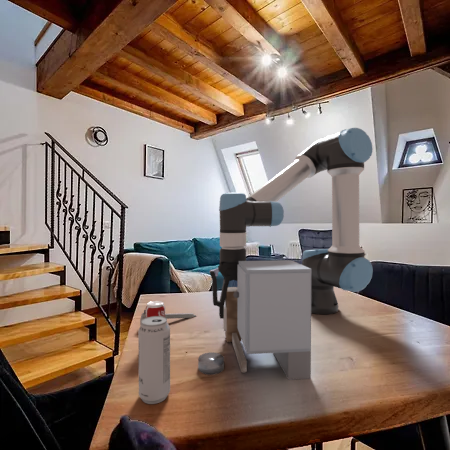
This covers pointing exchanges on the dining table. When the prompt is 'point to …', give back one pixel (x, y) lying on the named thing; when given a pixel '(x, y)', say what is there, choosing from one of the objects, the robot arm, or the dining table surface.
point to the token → (211, 363)
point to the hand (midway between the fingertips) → (233, 328)
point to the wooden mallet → (234, 327)
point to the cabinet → (276, 312)
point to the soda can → (155, 309)
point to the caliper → (170, 316)
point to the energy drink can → (154, 359)
